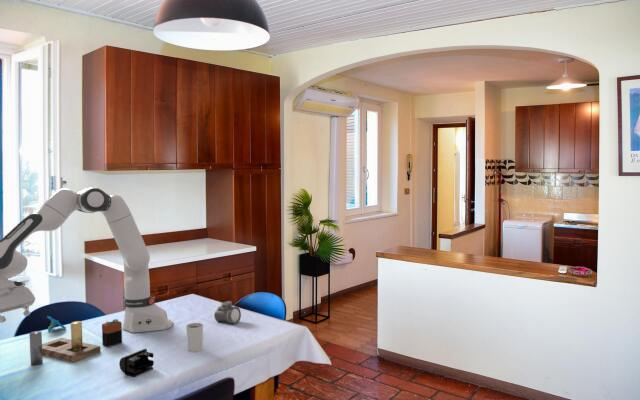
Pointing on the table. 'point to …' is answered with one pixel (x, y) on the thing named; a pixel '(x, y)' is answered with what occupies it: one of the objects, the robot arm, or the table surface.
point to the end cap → (136, 363)
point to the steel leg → (36, 348)
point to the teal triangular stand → (54, 324)
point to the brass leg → (76, 336)
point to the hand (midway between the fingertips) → (15, 318)
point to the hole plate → (68, 350)
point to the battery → (112, 333)
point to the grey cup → (195, 336)
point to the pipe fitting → (228, 313)
